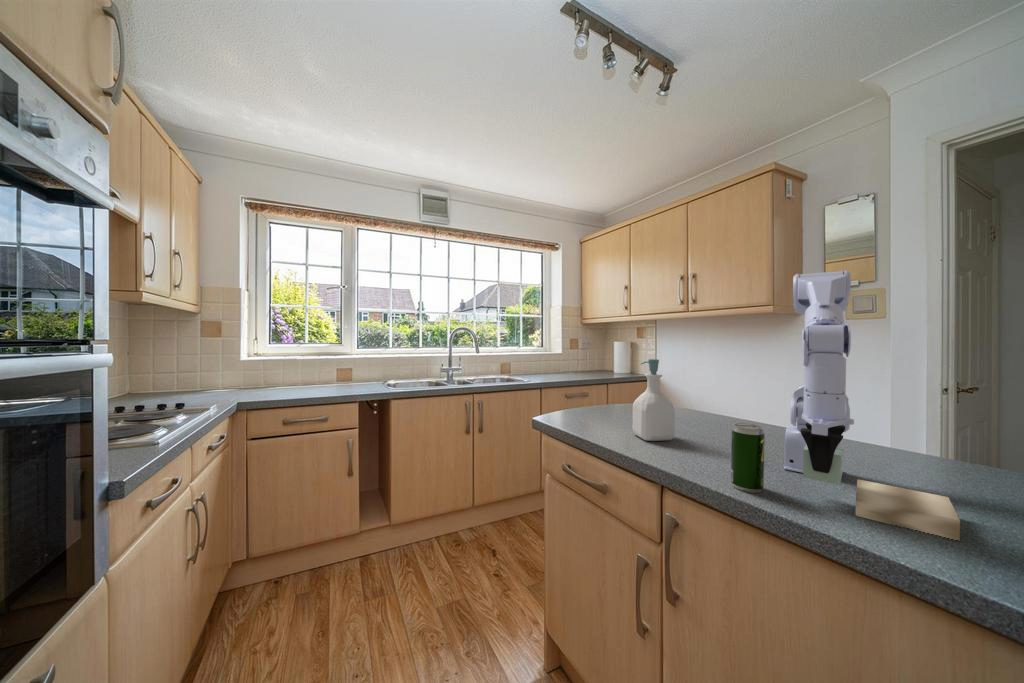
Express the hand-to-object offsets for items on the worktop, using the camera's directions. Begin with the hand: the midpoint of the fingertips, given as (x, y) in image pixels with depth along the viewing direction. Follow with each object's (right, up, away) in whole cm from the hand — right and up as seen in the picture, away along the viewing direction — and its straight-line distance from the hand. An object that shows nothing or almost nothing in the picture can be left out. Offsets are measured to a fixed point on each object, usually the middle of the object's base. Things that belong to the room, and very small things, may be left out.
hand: (822, 467), depth 67 cm
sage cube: (0, -2, 0) cm, 2 cm away
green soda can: (-10, -6, +5) cm, 13 cm away
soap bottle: (-15, -5, +41) cm, 44 cm away
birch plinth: (+9, -6, -5) cm, 12 cm away
